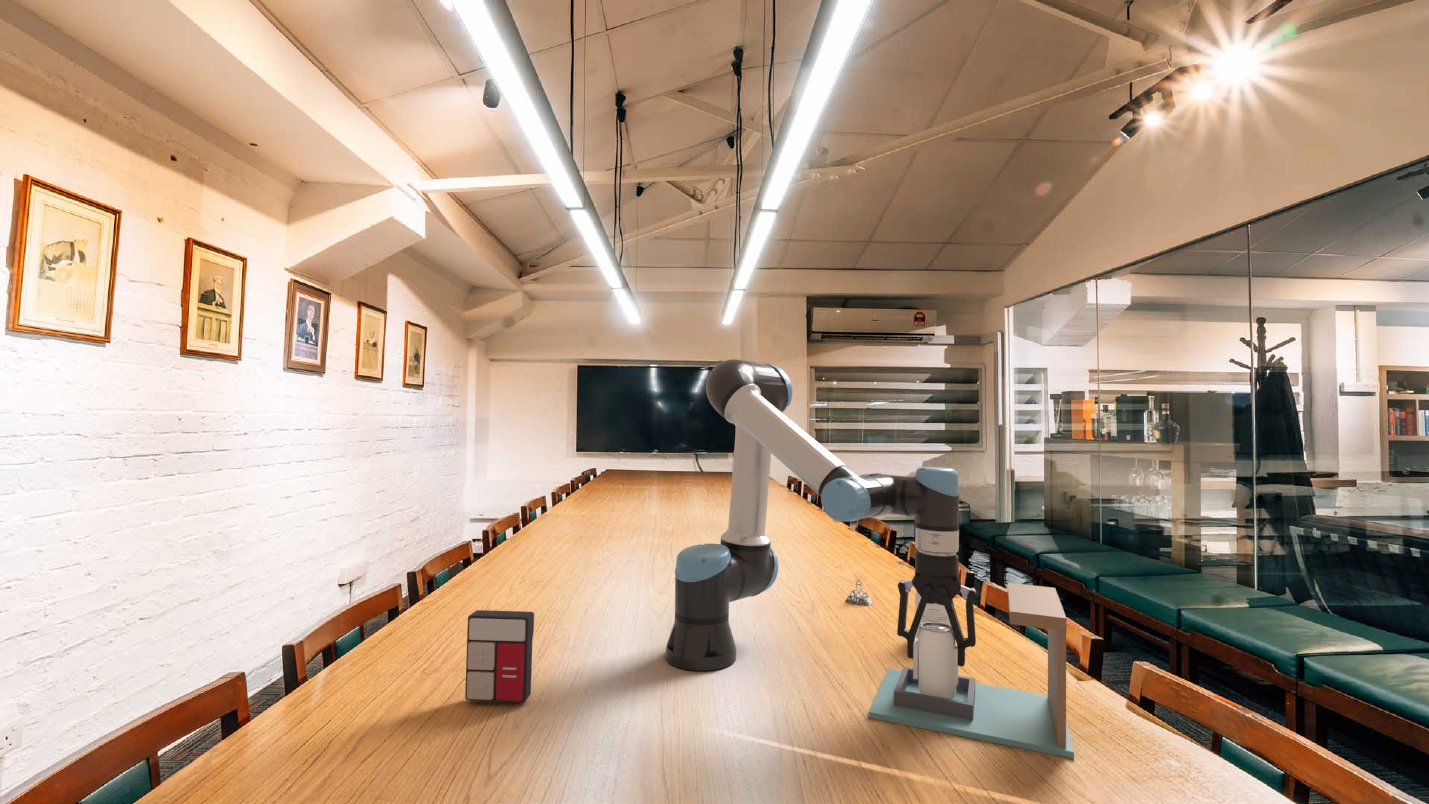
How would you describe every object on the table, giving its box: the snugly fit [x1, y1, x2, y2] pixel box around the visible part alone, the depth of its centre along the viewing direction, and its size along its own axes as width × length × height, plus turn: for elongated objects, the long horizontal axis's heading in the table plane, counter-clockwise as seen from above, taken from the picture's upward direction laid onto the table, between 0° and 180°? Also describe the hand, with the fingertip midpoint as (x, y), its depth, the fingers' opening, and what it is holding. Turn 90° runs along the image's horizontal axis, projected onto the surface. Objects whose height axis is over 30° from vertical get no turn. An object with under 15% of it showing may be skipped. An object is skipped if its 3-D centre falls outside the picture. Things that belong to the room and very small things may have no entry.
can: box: [918, 622, 956, 699], centre depth 117 cm, size 6×6×12 cm
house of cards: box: [844, 578, 873, 607], centre depth 182 cm, size 9×9×8 cm
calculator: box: [464, 609, 535, 703], centre depth 116 cm, size 11×4×15 cm, turn 88°
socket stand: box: [868, 582, 1075, 760], centre depth 115 cm, size 31×22×21 cm
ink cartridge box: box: [914, 589, 955, 639], centre depth 149 cm, size 9×5×15 cm, turn 68°
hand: (935, 679), depth 117 cm, fingers closed on can, 6 cm apart
